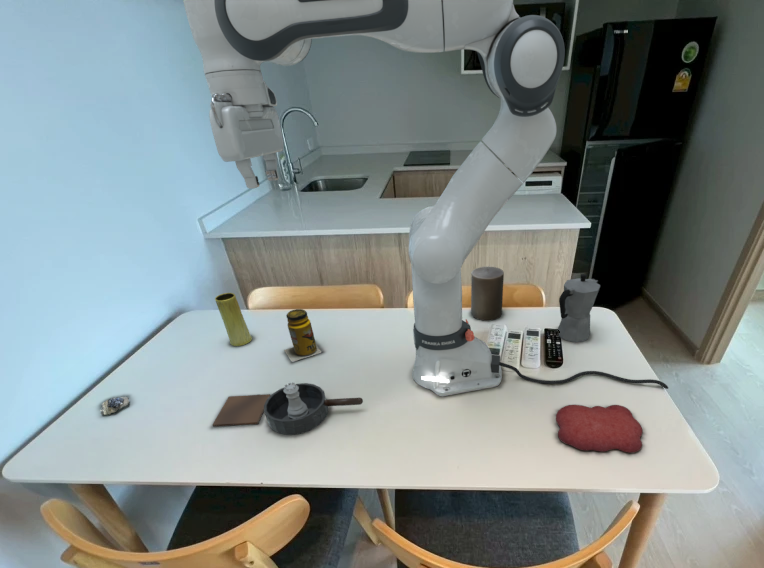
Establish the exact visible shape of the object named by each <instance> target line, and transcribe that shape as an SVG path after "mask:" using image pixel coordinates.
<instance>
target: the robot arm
mask: <svg viewBox="0 0 764 568" xmlns="http://www.w3.org/2000/svg"><path fill="white" fill-rule="evenodd" d="M182 2H183V7H184V11H185V14H186V18H187V22H188V24H189V29H190V32H191V35H192V36H191V37H192V39H193V42H194V44H195V46H196V47H197V49H198V51H199V53H200V55H201V59H202V65H203V74H204V78H205V80H206V85H207V87H208V90H209V94H210V96H211V101H210V102H209V104H210V105H209V107H210V110H209V113H208V114H209V115H208V117H209V122H210V127H211V131H212V135H213V140H214V143H215V146H216V150H217V153H218V155H219V157H220V159H221V160H222V161H223V162H225V163H228V162H235V165H236V169H237V171H238V172H239V173H240V175H241V176H242V178H243V179H244V182H245V185H246V188H247V189H249V190H251V189H257V188H259V187H260V181H259V178H258V175H255V172H254V170H253V167H252V166H253V164H252V163H253V162H252V160H251V159H254V158H258V157H262V158H263V161H265V168H266V170H265V176H266V178H267V180H268V181H269V182H272V181H273V182H274V181H278V180H279V179H280V175H279V172H278V157H277V153H280V152H283V151H284V138H283V131H282V127H281V122H280V118H279V113H278V110H277V109H276V107H277V106H278V99H277V96H276V93H275V92H274V91H273V90H272V89H271V87H270V86H268V85H267V83H266V81H265V80H264V77H263V73H262V69H261V65H262V64H263V63H270V64H273V65H277V66H281V67H291V66H294V65H297V64H300V63H301V62H303V61H304V60H305V59H306V57H307V56H308V54H309V53H310V50H311V47H312V42H313V40H314V39H324V38H336V37H346V36H361V37H362V36H363V37H369V38H372V39H375V40H379V41H382V42H384V43H386V44H387V45H390V46H392V47H393V48H396V49H398V50H400V51H402V52H403V51H404V52H408V53H409V52H410V53H419V54H434V53H435V54H436V53H443V52H453V51H459V50H469V51H475V52H476V54H477V57H478V60H479V63H480V67H481V71H482V76H483V79H484V81H485V83H486V85H487V88H488V89H489V90H490V92H491V93H492V94H493V95H494V96H495V97H497V98H498V99H500V108H499V111H498V114H497V117H496V118H495V120H494V122H493V125H492V126H491V127H490V128H489V130H488V131H487V132H486V133H485V134H484V135H483V137H481V139H480V141H479V142H478V143H477V144H476V145H475V146H474V148H473V149H472V150H471V152H470V153H469V154H468V155H467V157H466V158H465V159H464V160H463V162H462V164H461V165H460V166H459V167H458V168H457V170H456V171H455V172H454V174H453V175H452V177H451V178H450V180H449V182H448V184H446V187H445V189H444V190H443V192H442V193H441V195H440V196H439V198H438V199H437V201H436V203H435V204H433V205H429V206H426V207H424V208H422V209H421V210H419V211H418V212H417V213H416V214H415V215H414V217H413V218H412V219H411V220H412V221H411V223H410V226H409V232H408V253H407V254H408V258H409V262H410V264H411V266H410V267H411V283H412V284H411V285H412V302H413V314H414V323H413V329H412V334H413V335H412V336H413V344H414V348H415V358H414V365H413V369H412V373H411V376H412V379H413V380H414V382H415V383H416V384H417V385H419V386H420V387H422V388H424V389H426V390H430V391H432V392H433V393H434V394H435V395H437V396H439V397H447V396H452V395H457V394H458V395H459V394H463V393H469V392H474V391H479V390H486V389H491V388H496V387H498V386H500V384H501V382H502V378H503V372H502V371H503V370H502V367H503V368H506V369H509V370H512V371H513V372H515V373H516V375H517V376H518V377H519V378H520V379H523V380H525V381H528V382H532V383H536V384H541V385H563V384H566V383H569V382H572V381H573V380H576V379H577V378H580V377H582V376H588V375H595V376H596V375H597V376H603V377H605V378H610V379H613V380H616V381H620V382H623V383H629V384H656V385H659V386H661V387H662V389H663V388H664V390H665V389H666V390H669V386H668V385H667V383H664V382H663V381H660V380H657V379H651V378H650V379H648V378H647V379H630V378H625V377H621V376H617V375H614V374H611V373H607V372H603V371H599V370H598V371H597V370H586V371H585V370H584V371H580V372H578V373H575V374H574V375H572V376H570V377H567V378H565V379H558V380H557V379H556V380H543V379H542V380H541V379H537V378H532V377H529V376H526V375H524V374H523V373H521V371H520V370H519V369H518V368H517V367H515V366H514V365H511V364H509V363H504V362H502V361H501V355H500V354H499V355H498V354H492V352H491V349H490V347H489V345H488V344H487V343H486V342H485V341H484V340H482V339H480V338H479V337H477V336H475V335H474V334H475V333H474V331H473V330H472V328H471V327H472V326H471V324H469V321H468V319H467V318H465V320H463V285H462V283H463V282H462V267H463V265H464V263H465V262H466V259H467V258H468V256H469V255H470V254H471V252H472V251H473V249H474V248H475V246H476V245H477V243H478V242H479V240H480V239H481V238H482V237H483V235H484V232H485V231H486V229H487V228H488V227H489V225H490V224H491V222H492V221H493V220H494V218H495V216H496V215H497V214H498V213H499V212H500V211H501V210H502V208H503V207H504V206H505V205H506V204H507V203H508V202H509V201H510V199H512V197H513V196H514V195H515V194H516V192H518V190H519V189H520V188H521V187H522V186H523V184H524V183H526V181H527V180H528V179H529V177H530V176H531V175H532V174H533V172H535V170H536V169H537V167H538V166H539V164H540V163H541V162H542V160H543V159H544V157H545V156H546V154H547V153H548V152H549V150H550V148H551V146H552V145H553V143H554V141H555V139H556V137H557V132H558V126H557V121H556V118H555V116H554V114H553V112H552V110H551V109H550V108H549V107H551V105H552V103H553V101H554V97H555V94H556V90H557V86H558V83H559V80H560V78H561V74H562V72H563V68H564V64H565V54H566V49H565V42H564V39H563V36H562V33H561V31H560V29H559V28H558V27H557V26H556V24H555V23H554V22H553V21H551V20H550V19H548V18H546V17H545V16H542V15H537V14H529V15H525V16H522V17H521V16H520V15H519V14H518V13H517V11H516V8H515V5H514V0H182Z"/></svg>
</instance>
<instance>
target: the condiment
mask: <svg viewBox="0 0 764 568" xmlns="http://www.w3.org/2000/svg"><path fill="white" fill-rule="evenodd" d="M286 319H287V329H288V332H289V337H290V339H291V343H292V347H289V348H286V349H284V350H283V351H284V352H285V354H286V356H287V357H288V358H289V360H290V361H291V363H294V362H298V361H299V360H302V359H306V358H309V357H312V356H313V357H314V356H316V355H319V354H322V351H321V349H320V348H319V347H318V345H317V343H316V339H315V334H314V330H313V327H312V322H311V319H310V318H309V316H308V312H307V310H305V309H303V308H297V309H292V310H290V311H288V312H287V313H286Z"/></svg>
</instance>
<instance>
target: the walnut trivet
mask: <svg viewBox="0 0 764 568" xmlns="http://www.w3.org/2000/svg"><path fill="white" fill-rule="evenodd" d="M271 395H272V394H270V393H268V394H267V393H266V394H250V395H249V394H247V395H231V396H228V397H227V399H226V400H225V402H224V404H223V405H222V407H221V409H220V411H219V412H218V415H217V416H216V418H215V419H214V421H213V423H212V427H215V428H217V427H232V426H249V425H259V423H260V421H261V419H262V417H263V414H264V404H265V402H266V400H267V399H268V398H269V397H270V396H271Z"/></svg>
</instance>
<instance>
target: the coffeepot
mask: <svg viewBox="0 0 764 568" xmlns="http://www.w3.org/2000/svg"><path fill="white" fill-rule="evenodd" d="M587 277H588V274H585V273H581V274H580V278H579V277H578V278H571V279H567V280H566V281H565V283H564V284H563V291H562V293H561V294H560V296H559V298H558V304H559V313H560V318H561V320H560V322H559V325H558V328H557V331H558V330H559V331H560V333H559V335H558V337H559V338H560V339H562V340H564V341H566V342H571V343H582V342H585V341H587V340H588V339H589V337H590V335H591V312H592V309H593V307H594V304H595V302H596V299H597V296H598V293H599V291H600V288H601V284H599V283H598V282H599V280H598V279H595V278H587Z"/></svg>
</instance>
